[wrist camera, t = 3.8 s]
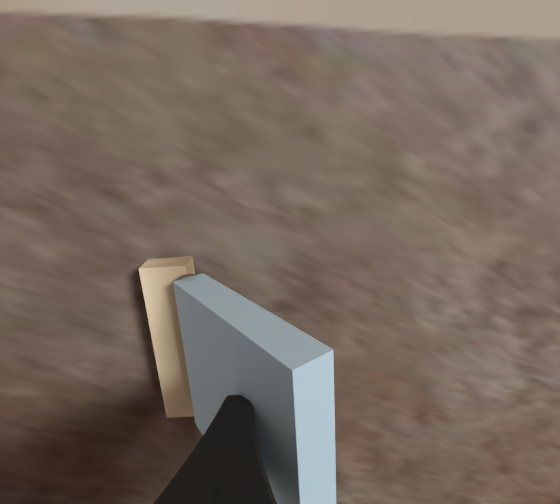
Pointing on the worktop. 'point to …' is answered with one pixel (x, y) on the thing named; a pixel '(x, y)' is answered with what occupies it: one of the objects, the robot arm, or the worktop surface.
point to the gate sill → (167, 330)
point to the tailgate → (263, 384)
